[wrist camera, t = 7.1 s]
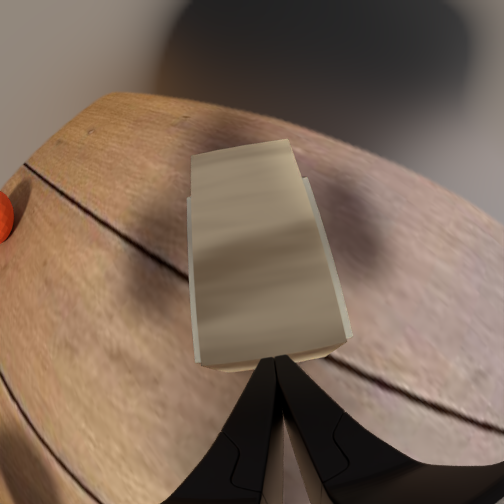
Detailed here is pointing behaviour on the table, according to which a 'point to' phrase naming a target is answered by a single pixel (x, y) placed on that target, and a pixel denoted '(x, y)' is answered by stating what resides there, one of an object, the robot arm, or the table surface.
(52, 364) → the table surface
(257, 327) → the block
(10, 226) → the clementine
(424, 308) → the table surface
